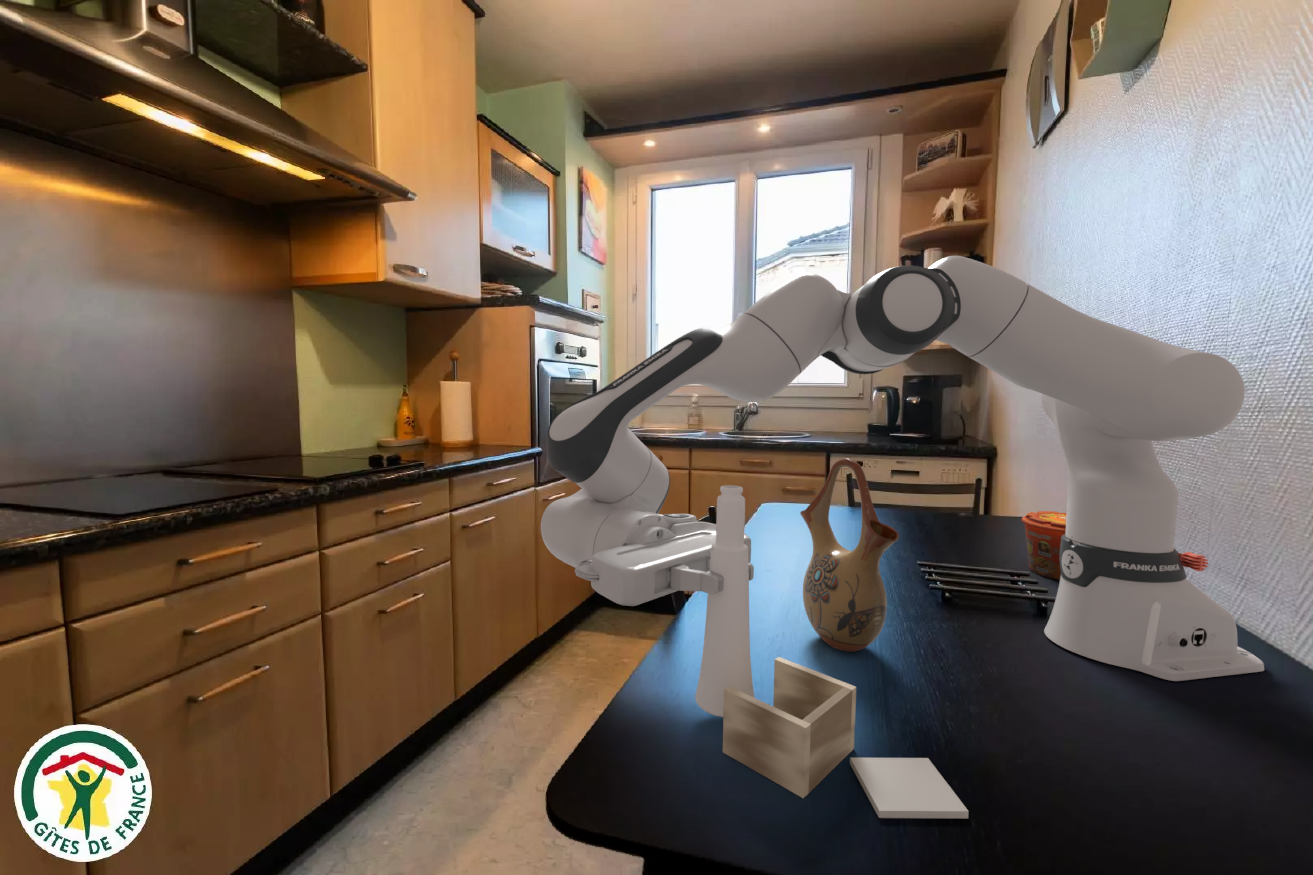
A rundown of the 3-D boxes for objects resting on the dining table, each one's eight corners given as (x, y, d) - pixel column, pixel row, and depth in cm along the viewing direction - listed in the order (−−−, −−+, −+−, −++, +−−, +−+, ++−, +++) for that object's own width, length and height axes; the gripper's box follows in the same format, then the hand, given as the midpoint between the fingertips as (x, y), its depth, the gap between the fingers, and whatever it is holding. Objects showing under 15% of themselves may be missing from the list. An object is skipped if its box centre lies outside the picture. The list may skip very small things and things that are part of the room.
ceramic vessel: (916, 665, 68) (926, 463, 67) (860, 679, 65) (869, 466, 63) (825, 616, 83) (831, 451, 81) (776, 626, 80) (781, 453, 78)
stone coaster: (927, 764, 50) (928, 757, 50) (968, 818, 43) (968, 811, 43) (849, 763, 50) (850, 757, 50) (879, 817, 43) (879, 810, 43)
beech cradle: (722, 752, 51) (724, 689, 51) (777, 712, 58) (778, 656, 57) (803, 798, 45) (805, 727, 45) (853, 748, 52) (856, 686, 51)
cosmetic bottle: (767, 707, 55) (775, 489, 54) (719, 725, 52) (726, 494, 50) (729, 680, 60) (735, 480, 59) (683, 695, 57) (688, 484, 56)
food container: (999, 562, 112) (1002, 510, 112) (1071, 561, 114) (1075, 509, 113) (1066, 590, 96) (1070, 529, 96) (1148, 587, 98) (1153, 528, 98)
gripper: (566, 538, 57) (663, 570, 47) (695, 511, 71) (790, 531, 62) (565, 598, 57) (661, 642, 48) (694, 559, 72) (788, 586, 62)
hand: (735, 579), depth 55 cm, fingers closed on cosmetic bottle, 3 cm apart
